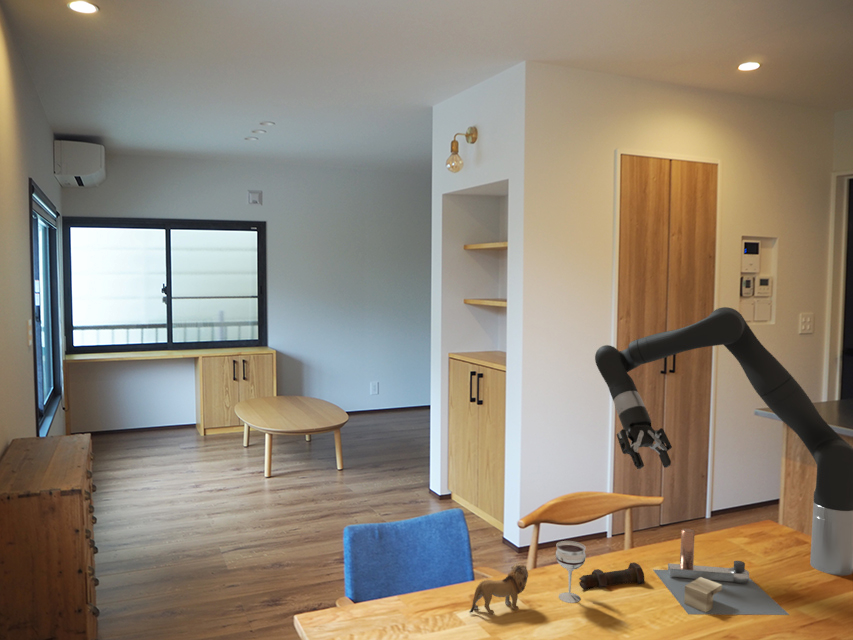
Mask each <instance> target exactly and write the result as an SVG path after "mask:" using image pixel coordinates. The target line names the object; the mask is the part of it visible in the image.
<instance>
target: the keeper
mask: <svg viewBox="0 0 853 640" xmlns="http://www.w3.org/2000/svg"><path fill="white" fill-rule="evenodd" d="M721 590H722V584H719V583H716V582H713V581H711V580H708V579H705V578H702V577H700V578H698V579H696V580H694V581H693V582H691V583H689V584H687V585H686V586H685V599H684V604H686V605H689V606H691V607H694V608H696V609H699V610H701V611H704V612H707V611H709V610H710V609H712V608H713V595H714V594H716V593H718V592H719V591H721Z"/></svg>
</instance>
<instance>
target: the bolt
mask: <svg viewBox="0 0 853 640" xmlns="http://www.w3.org/2000/svg"><path fill="white" fill-rule="evenodd" d="M578 579H579V580H580V581H579V583H578V584H579V586H580V588H582V589H583V590H584V591H585V590H592V589H594V588H598V589H605V588H607V587H608V586H616V585H623V584H636V585H644V584H645V572H644V570H643V569H642V567H641V565H640V564H639V563H637V562H630V563H629V564H628V567H627V568H625V569H620V570H613V571H608V572H604V571H603V570H601V569H600V568H597V569H594V570H593V571H592V572H591V574H584V575H583V574H582V575H581V576H580V577H579V578H578Z"/></svg>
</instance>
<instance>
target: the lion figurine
mask: <svg viewBox="0 0 853 640" xmlns="http://www.w3.org/2000/svg"><path fill="white" fill-rule="evenodd" d="M528 577H529V572H528V569H527V566H526V565H524V564H522V563H520V562H519V563H516V564H513V565H512V566H511V570H510V572H508V574H507V576H506V577H505V578H503V579H499V580H493V579H484V580H481V581H480V582H479V584H478V585H477V586H476V587H475V588H476V589H475V591H474V596H473V598H472V602H471V603H472V604H471V609H470V610H469V613H473V612H474V610H478V609H479V605H478V604H477V603H478V602H479V600H481V599H482V598H483V600H484V605H483V606H484V609H485V610H486V611H487V613H488V614H489V613H490V614H489V615H494V614H495V611H494V609H491V608H490V604H491V601H492V599H493V596H494V597H497V598H504V597H505V601H504V602H505V605H507V606H510V605H511V607H512V609H513V610H516V611H518V610H519V608H520V607H519V606H518V605H517V603H518V595H519V594H522V593H523V591H524V590H525V589H526V585H527V583H528ZM510 597H511V599H510ZM493 613H494V614H493Z"/></svg>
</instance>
